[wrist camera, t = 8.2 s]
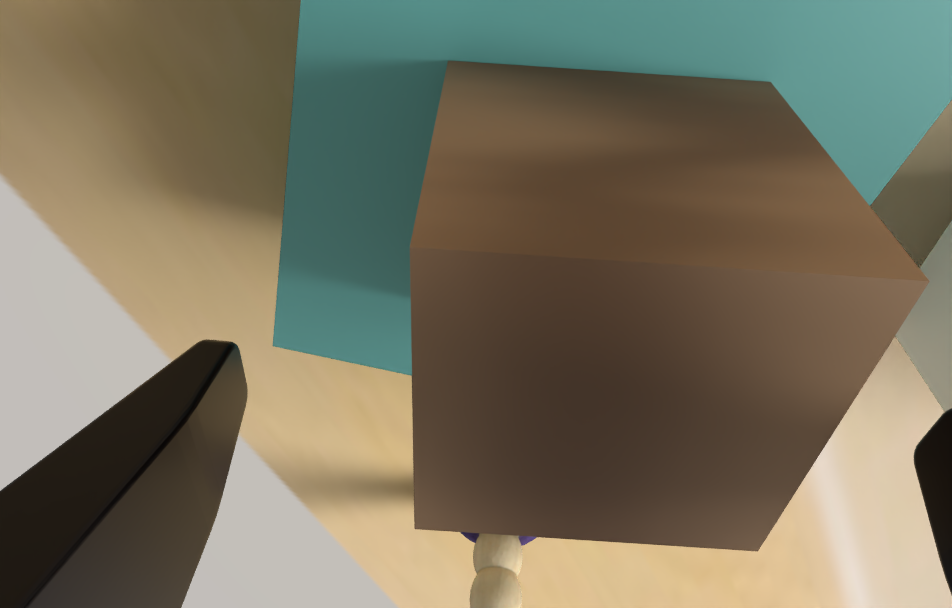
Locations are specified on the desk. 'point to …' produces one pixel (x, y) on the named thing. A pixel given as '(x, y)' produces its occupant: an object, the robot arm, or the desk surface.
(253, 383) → the desk surface
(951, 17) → the teal base block
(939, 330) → the grey cube
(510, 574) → the toy lamp
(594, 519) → the walnut cube
